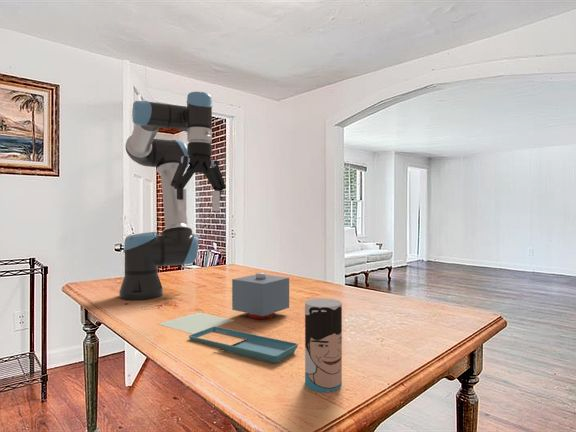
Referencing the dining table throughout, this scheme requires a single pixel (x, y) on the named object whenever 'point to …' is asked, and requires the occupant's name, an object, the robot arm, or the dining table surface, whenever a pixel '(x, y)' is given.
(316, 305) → the printed grey cylinder
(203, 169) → the robot arm
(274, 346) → the shallow long dish
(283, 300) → the cover
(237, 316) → the dining table surface
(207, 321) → the mat
